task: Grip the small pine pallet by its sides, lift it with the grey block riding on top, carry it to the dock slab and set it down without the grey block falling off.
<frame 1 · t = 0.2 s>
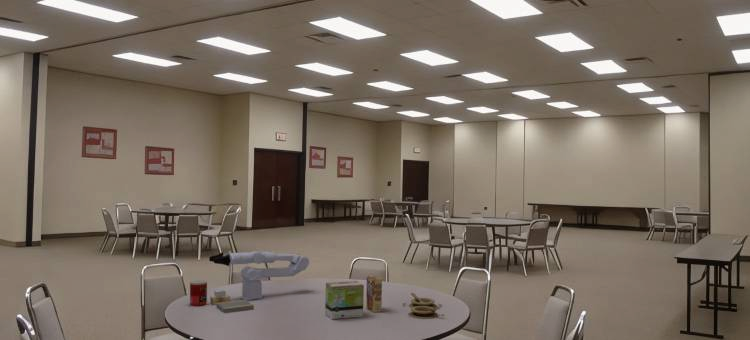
hand: (211, 259, 279), 21 cm above the table, tool horizontal, fingers open, 7 cm apart
candy box: (374, 310, 267), on the table
dock: (235, 308, 268), on the table
tea box: (344, 316, 256), on the table
pallet: (220, 303, 279), on the table, touching grey block
tableware set: (423, 312, 266), on the table
canned food: (198, 304, 276), on the table
grey block: (220, 296, 279), point 3 cm above the table, touching pallet
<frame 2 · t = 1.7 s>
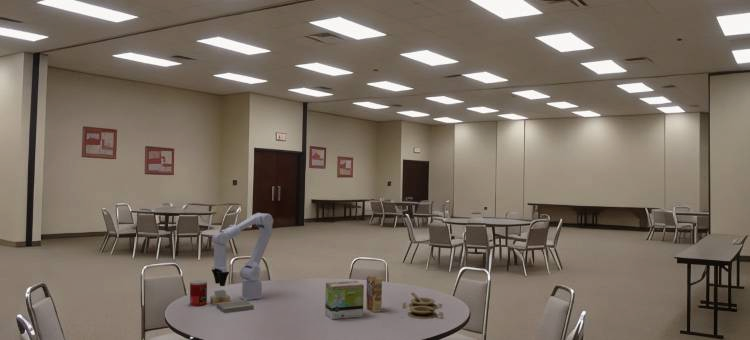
hand: (220, 284, 279), 9 cm above the table, tool pointing down, fingers open, 7 cm apart
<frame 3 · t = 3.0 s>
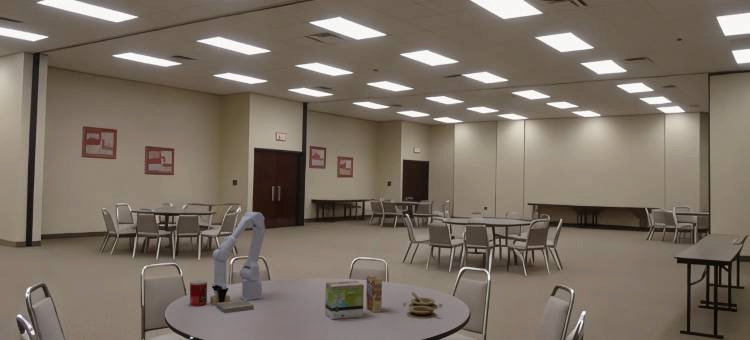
hand: (220, 301, 279), 1 cm above the table, tool pointing down, fingers closed on pallet, 5 cm apart
pallet: (220, 303, 279), on the table, touching gripper, grey block
everything else where it was.
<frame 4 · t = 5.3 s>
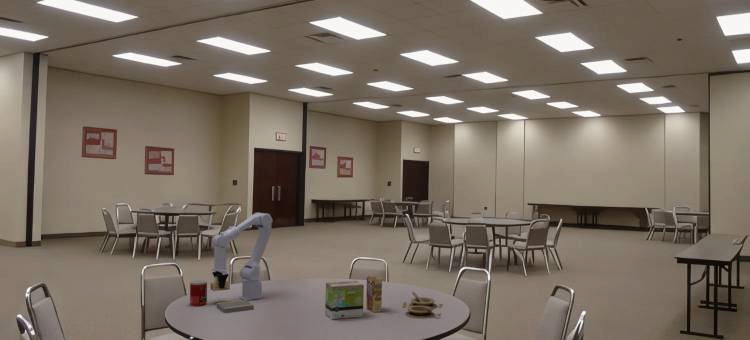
hand: (220, 287, 279), 8 cm above the table, tool pointing down, fingers closed on pallet, 5 cm apart
pallet: (220, 289, 279), point 7 cm above the table, touching gripper, grey block
grey block: (220, 282, 279), point 10 cm above the table, touching pallet
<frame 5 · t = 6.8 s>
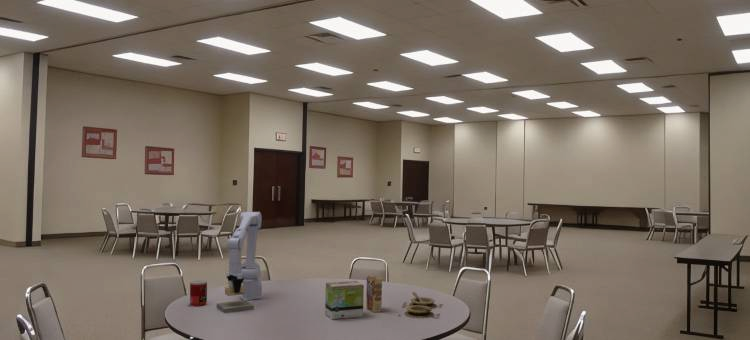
hand: (235, 291, 268), 8 cm above the table, tool pointing down, fingers closed on pallet, 5 cm apart
pallet: (234, 294, 268), point 7 cm above the table, touching gripper, grey block
grey block: (234, 286, 268), point 10 cm above the table, touching pallet
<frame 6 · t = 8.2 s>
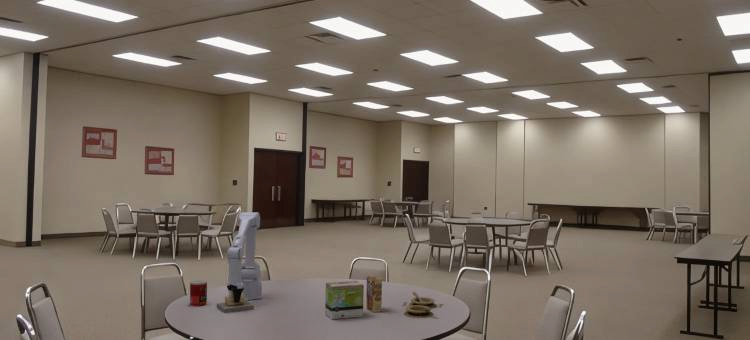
hand: (235, 301, 268), 3 cm above the table, tool pointing down, fingers closed on pallet, 5 cm apart
pallet: (234, 303, 268), point 2 cm above the table, touching gripper, grey block
grey block: (234, 295, 268), point 6 cm above the table, touching pallet
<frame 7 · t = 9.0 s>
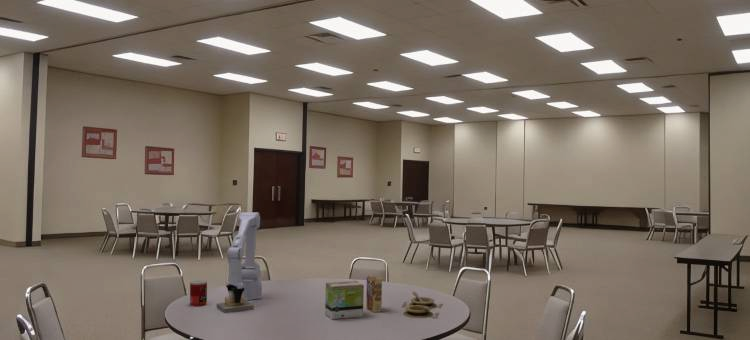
hand: (235, 301, 268), 3 cm above the table, tool pointing down, fingers open, 7 cm apart
pallet: (234, 304, 268), point 2 cm above the table, touching dock, grey block
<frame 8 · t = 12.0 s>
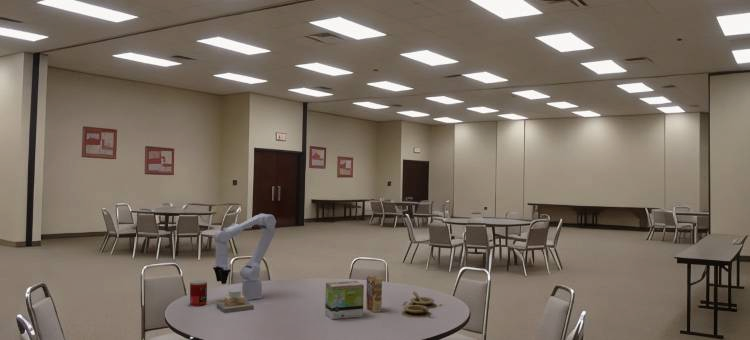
hand: (221, 282, 280), 10 cm above the table, tool pointing down, fingers open, 7 cm apart
at the end: pallet inside the target area on the dock (0.1 cm from its centre), point 2.0 cm above the dock's base; pallet tilted 0°; grey block 0.2 cm off-centre on the pallet, point 3.6 cm above the pallet's base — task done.
